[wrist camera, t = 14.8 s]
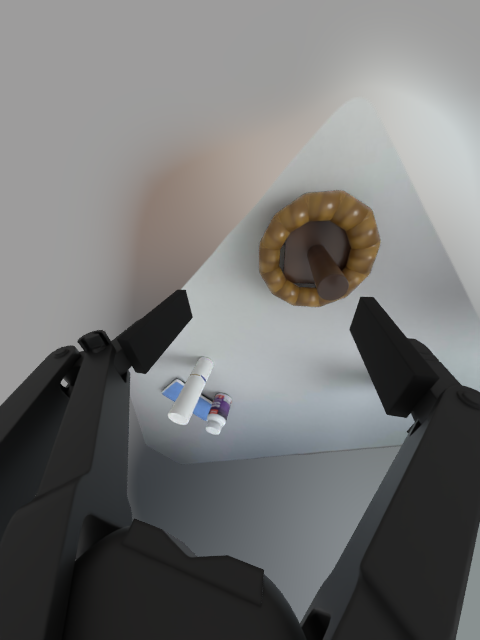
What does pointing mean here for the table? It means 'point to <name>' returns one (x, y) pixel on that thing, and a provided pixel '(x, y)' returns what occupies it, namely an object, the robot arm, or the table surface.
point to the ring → (319, 208)
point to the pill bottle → (218, 413)
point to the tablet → (202, 404)
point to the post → (318, 258)
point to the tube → (191, 392)
